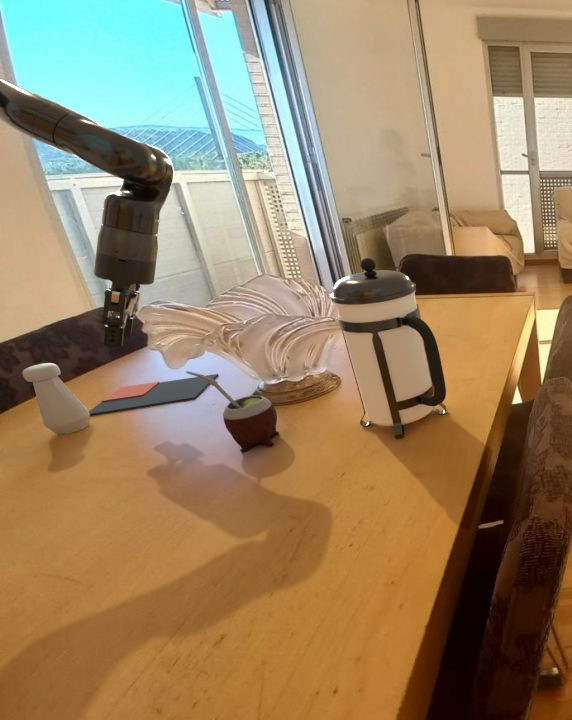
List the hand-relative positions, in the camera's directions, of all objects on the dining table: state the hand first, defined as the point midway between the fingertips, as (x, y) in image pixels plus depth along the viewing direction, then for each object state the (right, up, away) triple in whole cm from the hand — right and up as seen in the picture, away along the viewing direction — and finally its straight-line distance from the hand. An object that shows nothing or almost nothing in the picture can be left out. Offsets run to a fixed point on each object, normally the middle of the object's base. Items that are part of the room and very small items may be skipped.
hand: (117, 341), depth 87 cm
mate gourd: (+30, -18, -5) cm, 35 cm away
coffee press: (+54, -15, +1) cm, 56 cm away
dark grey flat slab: (-7, -11, +15) cm, 20 cm away
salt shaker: (-10, -17, +2) cm, 20 cm away
